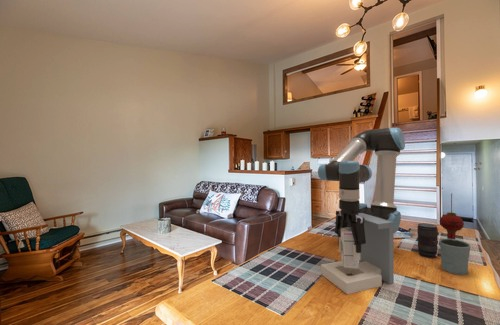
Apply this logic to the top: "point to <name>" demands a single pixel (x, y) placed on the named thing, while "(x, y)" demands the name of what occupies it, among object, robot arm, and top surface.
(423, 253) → the camera lens
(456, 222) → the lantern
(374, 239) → the socket block
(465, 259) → the grey green cup
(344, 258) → the syrup box
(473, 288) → the top surface
